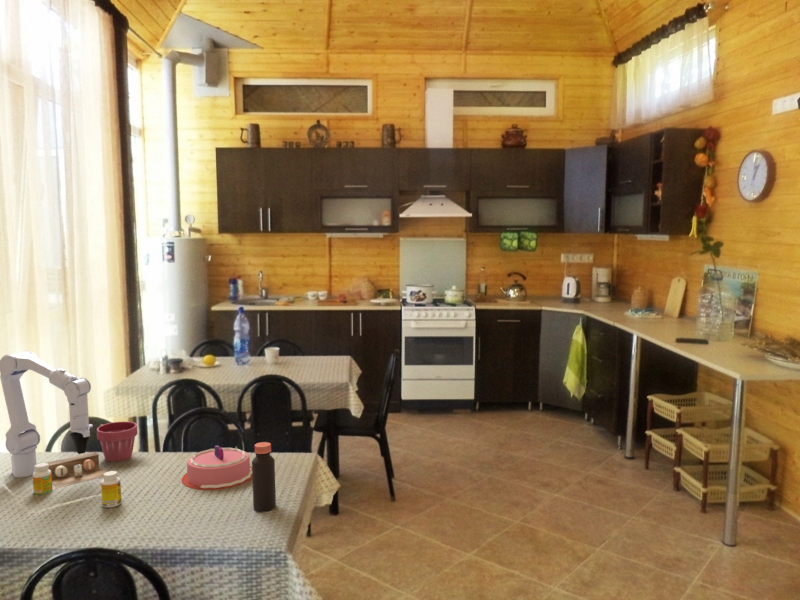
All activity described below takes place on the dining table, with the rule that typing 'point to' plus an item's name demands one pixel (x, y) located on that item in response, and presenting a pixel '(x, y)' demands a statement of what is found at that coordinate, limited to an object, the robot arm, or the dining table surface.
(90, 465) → the knob terracotta
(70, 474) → the mount
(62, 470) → the knob ivory
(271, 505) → the vinegar
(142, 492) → the dining table surface
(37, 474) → the supplement bottle
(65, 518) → the dining table surface
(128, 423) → the plant pot
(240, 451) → the cake
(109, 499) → the supplement bottle
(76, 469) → the pot dial
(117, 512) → the dining table surface
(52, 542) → the dining table surface
